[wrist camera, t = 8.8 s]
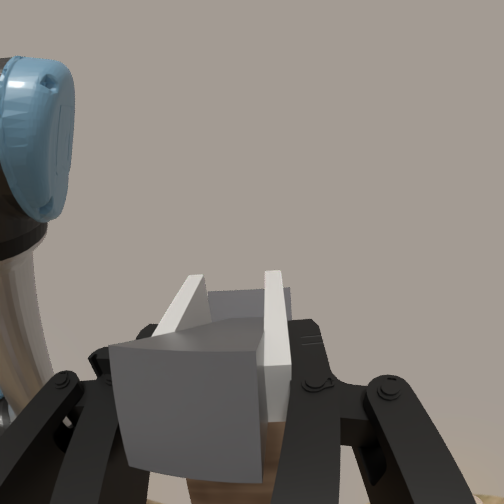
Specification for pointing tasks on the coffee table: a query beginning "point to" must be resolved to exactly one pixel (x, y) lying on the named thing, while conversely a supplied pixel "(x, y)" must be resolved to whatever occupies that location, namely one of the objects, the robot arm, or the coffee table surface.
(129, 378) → the gray block
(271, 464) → the brown wooden tall block
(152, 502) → the coffee table surface
